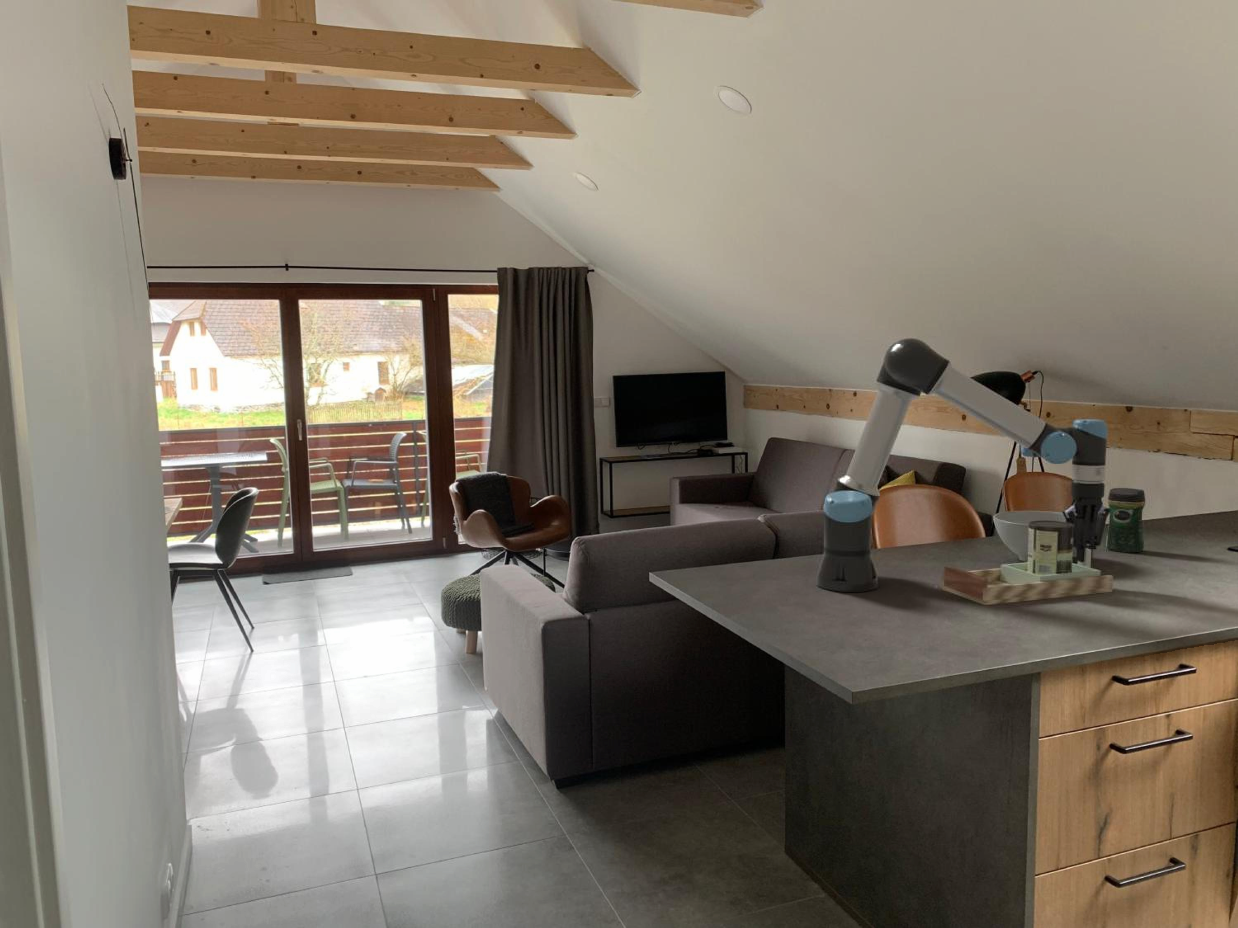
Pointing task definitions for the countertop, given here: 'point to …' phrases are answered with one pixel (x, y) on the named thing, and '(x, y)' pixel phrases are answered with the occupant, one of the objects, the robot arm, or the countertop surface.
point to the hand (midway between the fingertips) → (1083, 574)
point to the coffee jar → (1125, 520)
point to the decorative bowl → (1021, 528)
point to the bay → (1017, 586)
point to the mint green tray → (1021, 575)
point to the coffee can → (1050, 547)
